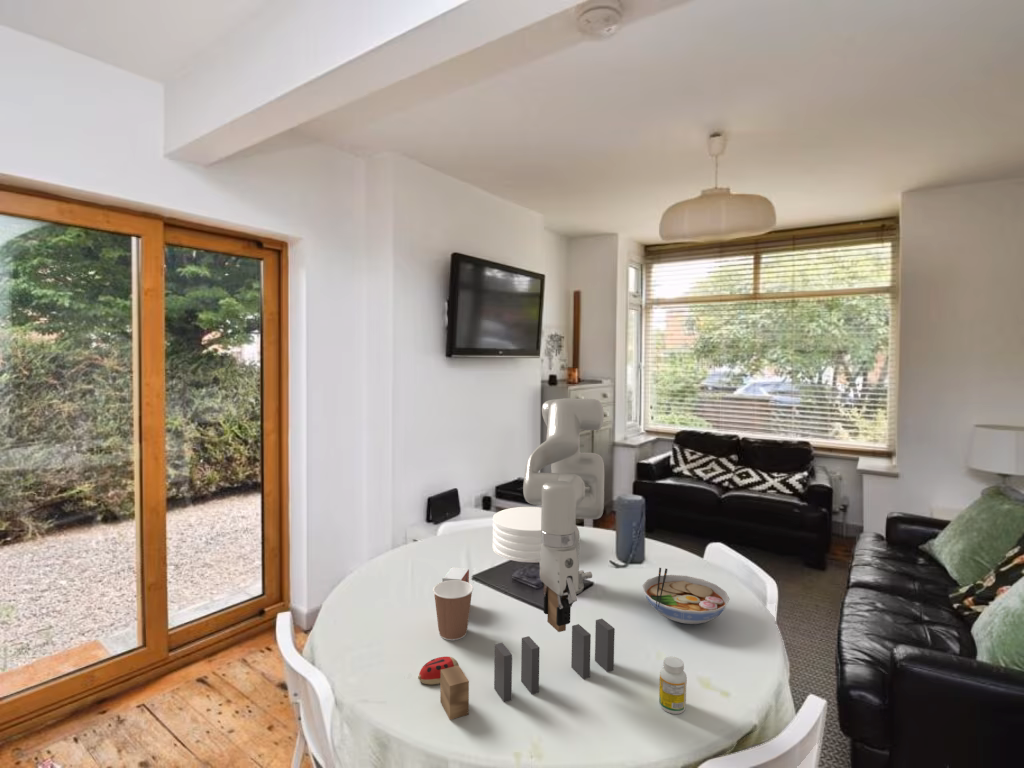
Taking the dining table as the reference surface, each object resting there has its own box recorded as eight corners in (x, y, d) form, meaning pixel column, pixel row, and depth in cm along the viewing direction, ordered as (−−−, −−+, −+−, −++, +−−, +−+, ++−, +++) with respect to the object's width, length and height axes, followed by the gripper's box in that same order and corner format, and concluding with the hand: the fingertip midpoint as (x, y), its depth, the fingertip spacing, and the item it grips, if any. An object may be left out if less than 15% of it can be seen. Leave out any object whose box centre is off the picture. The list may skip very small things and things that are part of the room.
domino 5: (601, 659, 130) (602, 618, 130) (613, 670, 126) (614, 628, 125) (594, 660, 130) (595, 620, 129) (607, 672, 125) (608, 630, 125)
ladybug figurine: (465, 676, 123) (465, 661, 123) (425, 692, 118) (425, 676, 117) (451, 662, 129) (451, 648, 128) (412, 676, 123) (412, 661, 123)
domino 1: (501, 686, 119) (502, 642, 119) (511, 700, 115) (512, 654, 114) (494, 688, 119) (494, 644, 118) (503, 702, 114) (504, 656, 113)
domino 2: (528, 679, 122) (528, 636, 121) (538, 692, 118) (539, 647, 117) (521, 681, 121) (521, 637, 121) (531, 694, 117) (532, 649, 116)
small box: (461, 617, 150) (461, 579, 149) (441, 615, 151) (441, 578, 150) (469, 604, 158) (469, 568, 157) (450, 602, 159) (450, 566, 158)
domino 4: (577, 665, 128) (578, 624, 127) (589, 677, 123) (590, 634, 123) (571, 667, 127) (572, 625, 126) (583, 679, 122) (583, 636, 122)
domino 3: (554, 620, 124) (555, 577, 123) (565, 630, 119) (566, 585, 119) (547, 621, 123) (548, 578, 123) (558, 632, 119) (559, 587, 118)
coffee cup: (479, 627, 145) (479, 583, 144) (463, 647, 135) (463, 600, 134) (443, 620, 148) (443, 577, 147) (425, 639, 138) (425, 593, 137)
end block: (458, 697, 116) (458, 665, 115) (468, 714, 110) (468, 681, 110) (440, 702, 114) (440, 669, 114) (449, 719, 109) (449, 686, 108)
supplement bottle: (679, 718, 110) (680, 672, 109) (654, 707, 113) (655, 662, 113) (689, 705, 114) (691, 661, 113) (665, 694, 117) (666, 651, 117)
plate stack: (490, 536, 215) (490, 507, 214) (560, 534, 218) (560, 506, 217) (495, 564, 187) (495, 531, 187) (575, 561, 190) (576, 529, 190)
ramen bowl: (729, 649, 135) (731, 617, 135) (636, 631, 143) (636, 601, 143) (727, 604, 159) (728, 577, 158) (646, 592, 167) (647, 565, 166)
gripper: (594, 548, 114) (592, 633, 115) (553, 524, 129) (552, 599, 131) (563, 553, 111) (561, 640, 112) (525, 528, 126) (524, 605, 127)
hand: (556, 617), depth 121 cm, fingers closed on domino 3, 4 cm apart
